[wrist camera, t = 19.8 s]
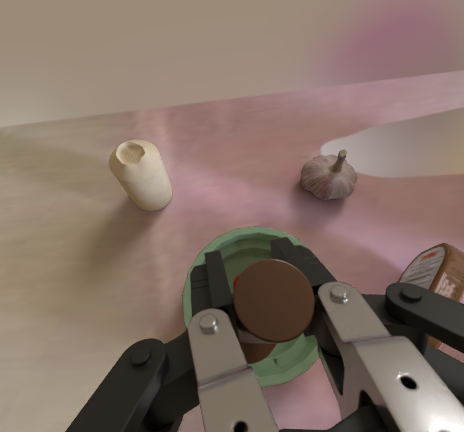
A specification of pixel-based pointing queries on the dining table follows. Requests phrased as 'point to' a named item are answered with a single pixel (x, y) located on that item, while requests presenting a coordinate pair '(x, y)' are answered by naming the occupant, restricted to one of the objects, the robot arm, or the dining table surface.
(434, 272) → the tin
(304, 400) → the dining table surface
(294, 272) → the muddler
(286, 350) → the bowl
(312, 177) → the garlic bulb
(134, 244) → the dining table surface
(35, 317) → the dining table surface
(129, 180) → the candle
